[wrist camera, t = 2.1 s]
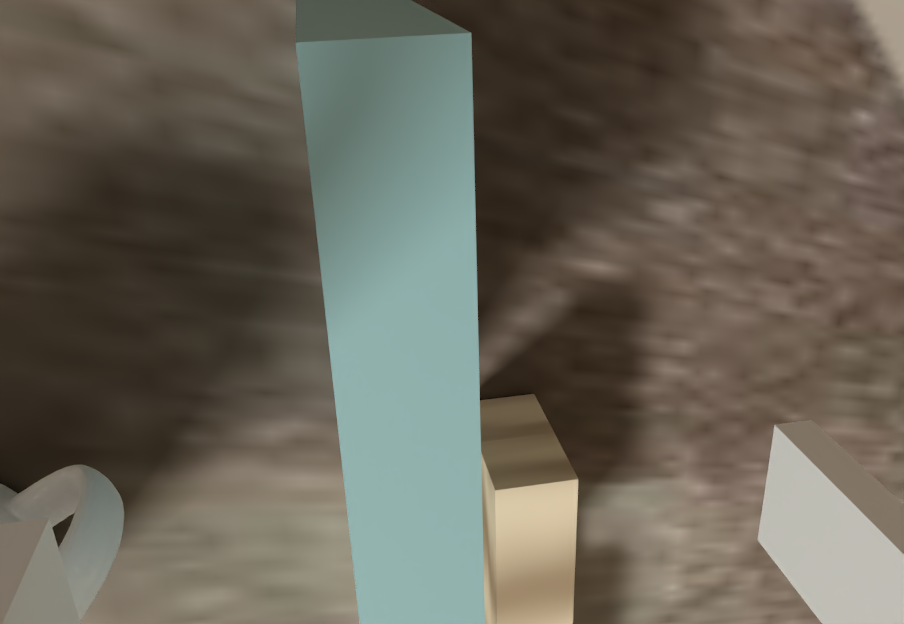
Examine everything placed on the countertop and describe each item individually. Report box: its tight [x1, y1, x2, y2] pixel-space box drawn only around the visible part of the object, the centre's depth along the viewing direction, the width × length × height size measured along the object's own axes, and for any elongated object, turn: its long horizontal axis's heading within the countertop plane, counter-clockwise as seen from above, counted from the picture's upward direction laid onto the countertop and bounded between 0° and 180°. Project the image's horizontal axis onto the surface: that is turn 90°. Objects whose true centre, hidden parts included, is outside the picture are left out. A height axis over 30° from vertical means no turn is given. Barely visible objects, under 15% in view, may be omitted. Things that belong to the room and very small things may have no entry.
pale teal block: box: [296, 0, 485, 624], centre depth 24 cm, size 16×3×14 cm, turn 2°
